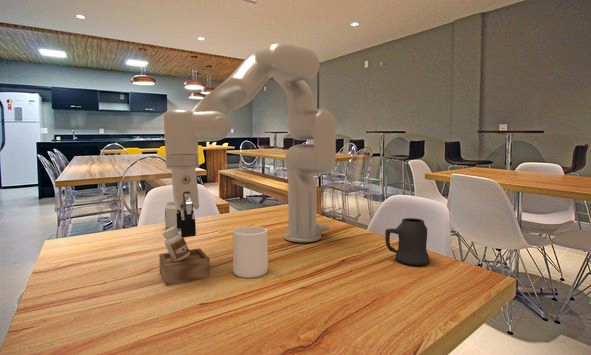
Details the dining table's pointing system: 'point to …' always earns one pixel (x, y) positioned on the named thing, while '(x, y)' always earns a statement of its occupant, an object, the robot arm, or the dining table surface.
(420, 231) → the mug
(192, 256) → the walnut box
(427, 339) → the dining table surface
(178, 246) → the pill bottle
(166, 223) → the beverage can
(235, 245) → the mug
